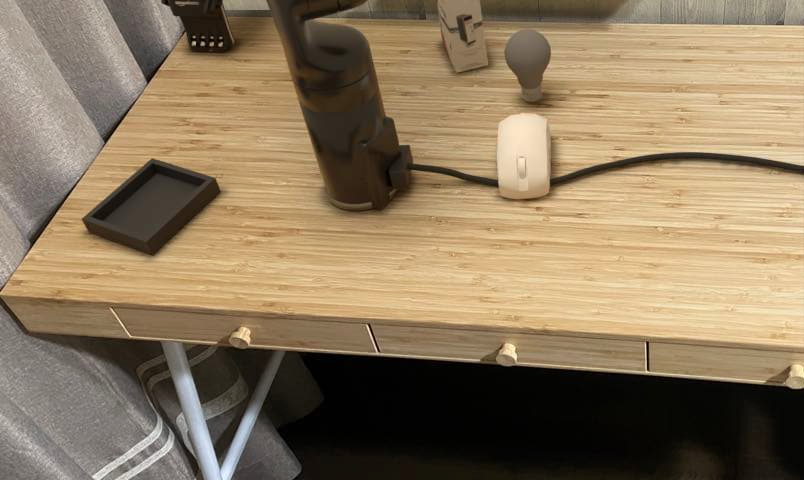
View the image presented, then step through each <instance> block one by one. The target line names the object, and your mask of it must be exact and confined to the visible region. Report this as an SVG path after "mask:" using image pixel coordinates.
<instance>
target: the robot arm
mask: <svg viewBox="0 0 804 480" xmlns="http://www.w3.org/2000/svg"><path fill="white" fill-rule="evenodd" d="M160 2H161V4H162V5H164V6H167V7H169V8H170V6H169V3H168V0H160ZM222 2H223V3H224V0H205V4H204V8H203V13H204V14H205V15H208V16H210V17H214V18H216V17H217V15H218V14H219V12H220V10H221V6H222ZM265 2H266V3H267V6H268V9H269V12H270V14H271V17H272V19H273V22H274V25H275V27H276V30H277V32H278V37H279V39H280V42H281V45H282V50H283V53H284V56H285V60H286V63H287V66H288V70H289V74H290V77H291V80H292V83H293V87H294V90H295V94H296V95H297V100H298V104H299V106H300V110H301V114H302V117H303V120H304V123H305V127H306V130H307V133H308V137H309V139H310V143H311V146H312V149H313V152H314V156H315V159H316V163H317V166H318V169H319V173H320V175H321V178H322V181H323V186H324V191H325V194H326V197H327V200H329V202H330V203H331V204H332V205H333V206H335V207H337V208H339V209H342V210H347V211H355V212H356V211H357V212H359V211H366V210H371V209H376V210H378V211H382V210H383V209H384V208H385V207H386V205H388V203H389V202H390V201H391V200H392V199H393V198H394V197H395V196H396V195H397V194H398V192H400V190H403V189H405V190H406V189H409V185H410V181H411V180H410V179H411V175H412V171H415V172H423V173H433V174H440V175H445V176H450V177H453V178H456V179H459V180H463V181H467V182H471V183H476V184H482V185H488V186H492V187H499V182H498V179H496V178H489V177H485V176H484V177H483V176H480V175H479V176H478V175H474V174H468V173H465V172H461V171H459V170H457V169H456V170H455V169H452V168H447V167H442V166H438V165H437V166H436V165H428V164H422V163H421V164H420V163H419V164H418V163H414V158H413V154H412V149H411V145H410V144H400V141H399V137H398V132H397V128H396V124H395V123H396V122H395V119H394V118H392V117H389V116H387V115H386V111H385V106H384V101H383V98H382V97H383V96H382V94H381V89H380V85H379V81H378V80H379V79H378V76H377V71H376V67H375V63H374V58H373V54H372V50H371V46H370V43H369V41H368V39H367V37H366V36H365V34H364V33H363V32H362V31H360V30H359V29H357V28H355V27H353V26H350V25H346V24H342V23H336V22H335V23H333V22H326V21H321V20H320V21H319V20H316V19H320V18H324V17H328V16H332V15H336V14H338V13H343V12H346V11H350V10H353V9H356V8H359V7H361V6H363V5H365V4H366V3H367V2H368V0H266V1H265ZM685 159H686V160H687V159H688V160H693V159H694V160H713V161H722V162H723V161H725V162H736V163H743V164H752V165H759V166H764V167H769V168H775V169H776V168H777V169H781V170H786V171H791V172H798V173H804V165H801V164H796V163H790V162H785V161H781V160H779V161H778V160H774V159H769V158H761V157H757V156H748V155H740V154H728V153H718V152H717V153H716V152H703V151H702V152H701V151H680V152H679V151H677V152H662V153H653V154H645V155H639V156H633V157H629V158H628V157H627V158H622V159H619V160H615V161H610V162H609V161H608V162H605V163H601V164H597V165H596V164H595V165H593V166H589V167H585V168H581V169H579V170H576V171H573V172H570V173H568V174H567V173H566V174H564V175H560V176H556V177H552V178H550V187H551V186H556V185H560V184H564V183H566V182H570V181H572V180H575V179H580V178H581V177H585V176H588V175H591V174H594V173H598V172H604V171H608V170H612V169H617V168H622V167H627V166H630V165H637V164H641V163H647V162H655V161H665V160H666V161H667V160H685Z"/></svg>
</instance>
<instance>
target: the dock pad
mask: <svg viewBox="0 0 804 480" xmlns="http://www.w3.org/2000/svg"><path fill="white" fill-rule="evenodd" d="M220 192H221V188H220V186H219V184H218V181H217V178H216V177H214V176H211V175H207V174H204V173H201V172H198V171H195V170H192V169H189V168H185V167H182V166H180V165H179V166H178V165H176V164H172V163H169V162H166V161H163V160H159V159H156V158H153V157H151V158H150V159H149V160H148V161H147V162H146V163H145V164H143V165H142V166H141V167H139V169H138V170H136V171H135V172H134V173H133V174H132V175H131V176H129V177H128V178H127V179H126V180H124V182H123V183H122V184H120V185H119V186H118V187H116V188H115V189H114V190H113V191H112V192H111V193H110V194H108V195H107V196H106V197H105V198H104V199H103V200H102V201H100V202H99V203H98V204H96V206H95V207H93V208H92V209H91V210H90V211H88V213H87V214H85V215H84V216H83V217H82V218H81V221H82V223H83V225H84V227H85V228H86V230H87V232H88V233H89V234H92V235H95V236H98V237H101V238H104V239H107V240H109V241H111V242H114V243H117V244H120V245H124V246H126V247H128V248H131V249H134V250H137V251H139V252H142V253H145V254H148V255H151V256H154V255H155V254H156V253H157V252H158V251H159V250H160V249H161V248H163V247H164V245H166V244H167V243H168V242H169V241H170V240H171V239H172V238H173V237H174V236H175V235H177V233H178V232H180V230H181V229H183V228H184V226H186V225H187V224H188V223H189V222H190V221H191V220H192V219H193V218H194V217H195V216H196V215H198V213H199V212H201V211H202V210H203V209H204V208H205V207H206V206H207V205H208V204H209V203H211V202H212V200H213V199H214V198H216V196H217V195H219V194H220Z"/></svg>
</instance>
